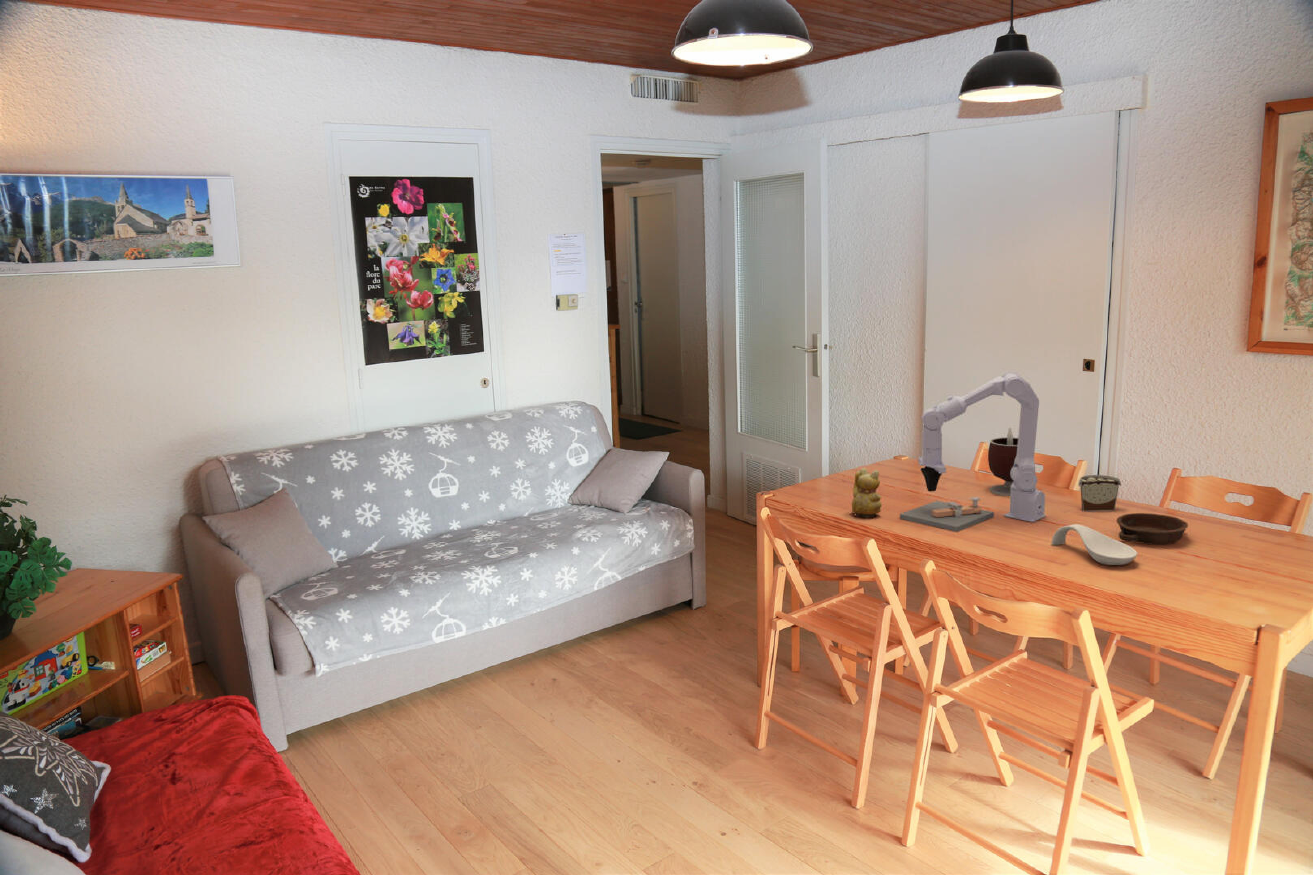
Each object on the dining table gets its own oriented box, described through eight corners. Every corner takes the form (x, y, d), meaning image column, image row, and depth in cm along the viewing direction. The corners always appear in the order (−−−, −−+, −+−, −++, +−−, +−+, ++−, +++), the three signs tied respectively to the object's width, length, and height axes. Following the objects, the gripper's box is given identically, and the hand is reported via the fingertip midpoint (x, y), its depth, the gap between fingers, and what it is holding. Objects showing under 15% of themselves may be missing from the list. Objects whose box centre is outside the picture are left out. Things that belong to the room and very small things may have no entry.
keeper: (953, 512, 288) (953, 501, 287) (961, 517, 283) (961, 505, 282) (947, 513, 288) (947, 502, 287) (955, 517, 283) (955, 506, 282)
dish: (1095, 536, 266) (1096, 519, 265) (1153, 524, 273) (1154, 508, 272) (1147, 553, 250) (1148, 535, 249) (1207, 540, 257) (1208, 523, 256)
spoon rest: (1146, 565, 241) (1148, 538, 240) (1114, 573, 237) (1116, 546, 235) (1071, 541, 263) (1072, 516, 261) (1040, 548, 258) (1041, 523, 256)
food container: (1112, 505, 293) (1113, 474, 291) (1119, 510, 287) (1121, 479, 285) (1071, 505, 294) (1072, 475, 292) (1077, 511, 288) (1079, 479, 286)
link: (977, 509, 289) (977, 496, 288) (983, 512, 286) (983, 498, 285) (931, 514, 286) (931, 500, 285) (936, 517, 283) (937, 503, 282)
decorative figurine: (885, 514, 294) (885, 468, 291) (873, 521, 288) (873, 473, 285) (857, 510, 301) (857, 464, 298) (845, 516, 294) (845, 470, 291)
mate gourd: (1032, 497, 305) (1034, 437, 301) (987, 495, 310) (989, 436, 305) (1029, 485, 320) (1031, 428, 316) (986, 484, 324) (988, 427, 320)
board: (993, 516, 287) (993, 512, 286) (957, 531, 274) (957, 526, 274) (936, 505, 302) (937, 500, 302) (899, 518, 289) (899, 514, 289)
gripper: (909, 444, 293) (909, 486, 296) (930, 454, 279) (930, 497, 282) (930, 442, 294) (930, 484, 297) (952, 451, 280) (952, 495, 283)
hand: (931, 490), depth 290 cm, fingers closed
